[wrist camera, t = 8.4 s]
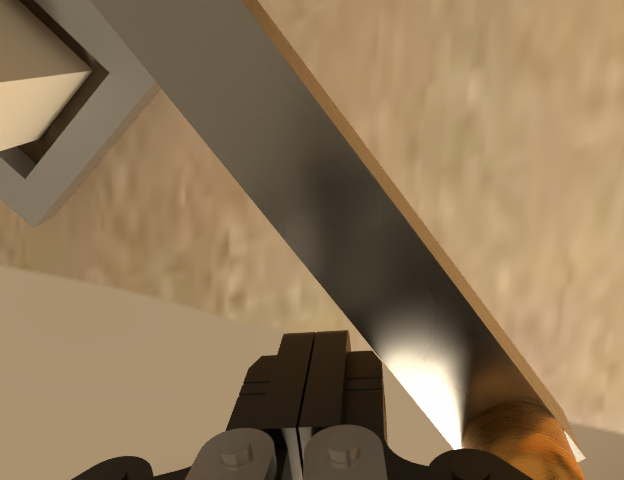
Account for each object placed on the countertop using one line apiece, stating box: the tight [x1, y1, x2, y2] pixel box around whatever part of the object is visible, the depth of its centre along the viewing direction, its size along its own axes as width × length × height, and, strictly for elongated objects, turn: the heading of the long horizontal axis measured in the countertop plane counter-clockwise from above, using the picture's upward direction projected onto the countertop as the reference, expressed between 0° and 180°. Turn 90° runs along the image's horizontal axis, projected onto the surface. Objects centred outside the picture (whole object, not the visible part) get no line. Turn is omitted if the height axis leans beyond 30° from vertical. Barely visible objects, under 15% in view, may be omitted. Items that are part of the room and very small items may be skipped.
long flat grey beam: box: [90, 0, 585, 480], centre depth 10 cm, size 19×3×4 cm, turn 38°
